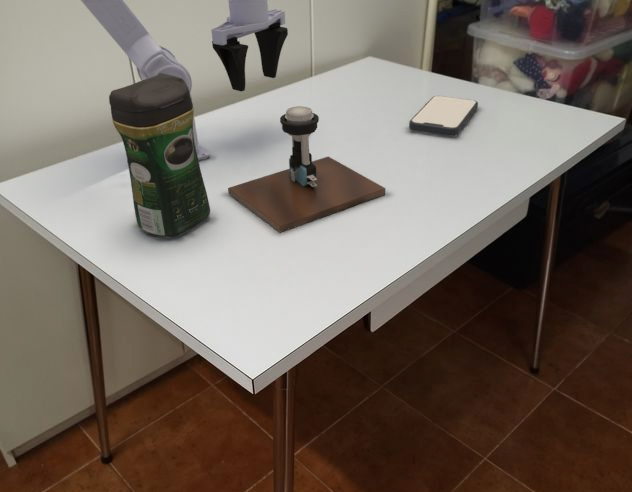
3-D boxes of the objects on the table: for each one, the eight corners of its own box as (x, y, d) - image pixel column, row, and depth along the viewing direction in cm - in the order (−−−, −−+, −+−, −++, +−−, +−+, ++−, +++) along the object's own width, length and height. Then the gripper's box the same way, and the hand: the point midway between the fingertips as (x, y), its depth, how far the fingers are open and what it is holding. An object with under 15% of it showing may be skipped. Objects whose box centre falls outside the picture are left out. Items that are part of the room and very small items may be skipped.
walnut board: (280, 232, 82) (279, 226, 81) (228, 194, 91) (227, 187, 90) (385, 194, 90) (385, 188, 89) (328, 162, 98) (328, 156, 98)
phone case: (432, 103, 118) (406, 131, 107) (433, 94, 117) (406, 122, 106) (478, 109, 115) (456, 139, 104) (480, 100, 114) (458, 129, 103)
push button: (330, 185, 90) (330, 116, 83) (297, 194, 88) (294, 124, 82) (309, 168, 94) (307, 101, 88) (277, 176, 93) (273, 108, 86)
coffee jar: (179, 201, 89) (155, 64, 77) (220, 216, 86) (201, 75, 74) (127, 229, 84) (92, 85, 71) (168, 246, 80) (138, 98, 68)
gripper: (258, -25, 97) (264, 67, 106) (191, -8, 88) (204, 91, 97) (293, -21, 94) (297, 74, 102) (228, -3, 85) (238, 99, 94)
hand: (254, 83), depth 99 cm, fingers open, 7 cm apart
